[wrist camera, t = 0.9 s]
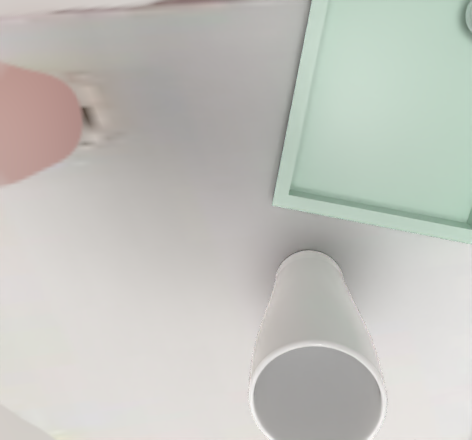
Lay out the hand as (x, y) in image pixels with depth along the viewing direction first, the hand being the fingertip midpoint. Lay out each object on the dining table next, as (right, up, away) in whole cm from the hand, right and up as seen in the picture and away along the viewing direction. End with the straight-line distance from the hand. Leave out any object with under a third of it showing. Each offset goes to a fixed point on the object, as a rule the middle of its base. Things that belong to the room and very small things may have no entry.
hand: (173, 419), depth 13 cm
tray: (+13, +14, +18) cm, 27 cm away
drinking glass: (+8, +1, +23) cm, 24 cm away
